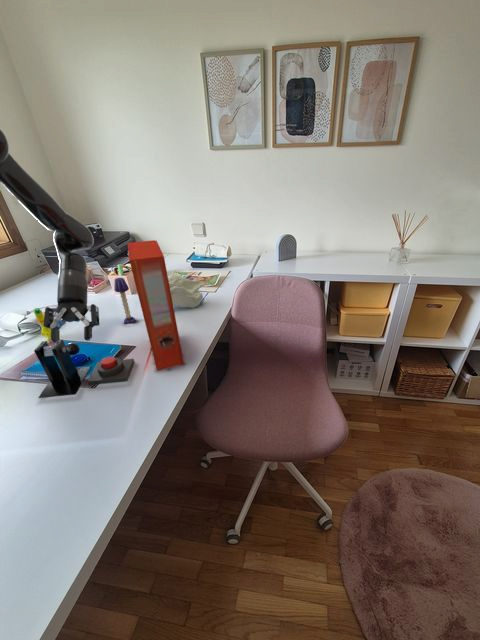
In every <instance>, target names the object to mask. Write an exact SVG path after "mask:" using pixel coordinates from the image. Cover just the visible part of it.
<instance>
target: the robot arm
mask: <svg viewBox="0 0 480 640" xmlns="http://www.w3.org/2000/svg"><path fill="white" fill-rule="evenodd" d="M9 152H10V145H9V141H8V138H7V137H6V135H5V133H4V131H2V129H0V184H1V185H3V186H4V188H5V189H7V191H8V192H9V193H10V194H11V195H12V196H14V197H15V199H16V200H17V201H18V202H19V203H20V204H21V205H22V206H23V207H24V208H25V209H26V210H27V211H28V212H29V213H30V214H31V215H32V216H33V217H34V219H36V220H38V222H39V223H40V224H41V225H42V226H43V227H45V228H46V229H47V230H48V231H52V232H54V233H53V237H52V238H53V243H54V246H55V249H56V253H57V256H58V260H59V263H58V264H59V265H58V266H59V268H58V277H57V297H56V301H57V306H56V307H49V306H46V307H45V309H44V313H45V315H44V327H46V328H49V329H51V338H50V340H51V341H52V342H53V343H54V344H56V343H57V342H58V341H59V340H61V338H60V337H61V334H60V333H61V331H60V330H61V328H62V327H63V326H65V325H66V324H67V323H73V322H76V323H78V322H80V321H81V322H82V323H83V325H84V327H83V339H84V340H85V341H87V342H88V341H91V339H92V338H93V328H94V327H98V326H100V311H99V310H100V309H99V307H98V306H97V305H96V304H94V303H92V304H90V305H88V288H89V285H88V274H87V273H88V272H87V271H88V269H87V268H88V263H87V259H86V258H85V256H83V255H81V254H80V253H79V254H78V253H75V252H78V251H85V250H90V249H91V248H92V247H93V246H94V243H95V239H94V236H93V233H92V232H91V230H90V229H89V228H88V227H87V226H86V225H85V224H83V223H82V222H81V221H79V220H78V219H77V218H75V217H74V216H72V215H71V214H69V213H68V212H66V211H65V210H64V209H63V207H61V205H60V204H59V203H58V202H57V201H56V200H55V199H54V198H53V196H52V195H51V194H49V192H48V191H47V190H46V189H45V188H44V187H43V186H42V185H40V184H39V183H38V182H37V181H36V180H35V178H33V177H32V176H31V175H30V174H29V173H28V172H27V171H26V170H25V169H24V168H23V167H22V166H21V165H20V164H19V163H18V162H17V161H16V160H15V159H14V157H13V156H12V155H11V154H10V153H9ZM88 312H89V313H90V316H91V317H90V320H89V318H88V317H87V316H86V315H87V314H88Z"/></svg>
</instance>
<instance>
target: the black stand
mask: <svg viewBox="0 0 480 640" xmlns="http://www.w3.org/2000/svg"><path fill="white" fill-rule="evenodd" d="M66 345H67V344H66V343H65V341H64V339H60V340H59V341H58V342H57V343H54V345H53V346H54V347H53V348H52V349H51V350H52V352H53V354H54V356H44V348H43V347H48V346H50V345H49V343H48V341H47V340H44V341H41V342H40V343H39V344H38V345H37V347H35V349H34V351H33V352H34V354H35V355H36V357H37V359H38V361H39V363H40V365H41V367H42V369H43V370H44V372H45V374H46V376H47V378H48V380H49V381H48V383H47V384H46V385H45V387H44V389H43V390H42V391H41V393H40V394H39V396H38V397H37V398H38V399H44V398H54V397H64V396H74V395H77V393H78V391H80V388H81V386H82V384H83V383H84V380H85V379H86V377H87V376H88V374H89V372H90V370H91V369H92V366H91V365H90V366H79V367H76V366H75V363H74V361H73V359H72V355H70V354H69V352H68V350H67V348H66Z"/></svg>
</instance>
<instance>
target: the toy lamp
mask: <svg viewBox="0 0 480 640" xmlns="http://www.w3.org/2000/svg"><path fill="white" fill-rule="evenodd" d="M113 288H114V292H116V293H119V294H120V298H121V302H122V306H123V311H124V314H125V318H124V319H123V324H124V325H133V324H135V323H136V322H137V320H136V318H135V317H133V316H132V315H131V311H130V307H129V302H128V298H127V295H126V292H127V291H129V290H130V287H129V286H128V284H127V282H126V280H125V278H123V277H116V278H115V279H114V287H113Z"/></svg>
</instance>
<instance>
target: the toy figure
mask: <svg viewBox="0 0 480 640" xmlns="http://www.w3.org/2000/svg"><path fill="white" fill-rule="evenodd" d="M33 311H34V312H33V313H34V316H35V318H36V321H37V322H38V323H39V325H40V326H41V327H42V328H41V331H40V334H41V336H43V337H45V338H47V339H48V340H51V329H49V328H46V327H44V315H45V312H44V313H43V310H41V309H40V308H39V307H36V308H33Z"/></svg>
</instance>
